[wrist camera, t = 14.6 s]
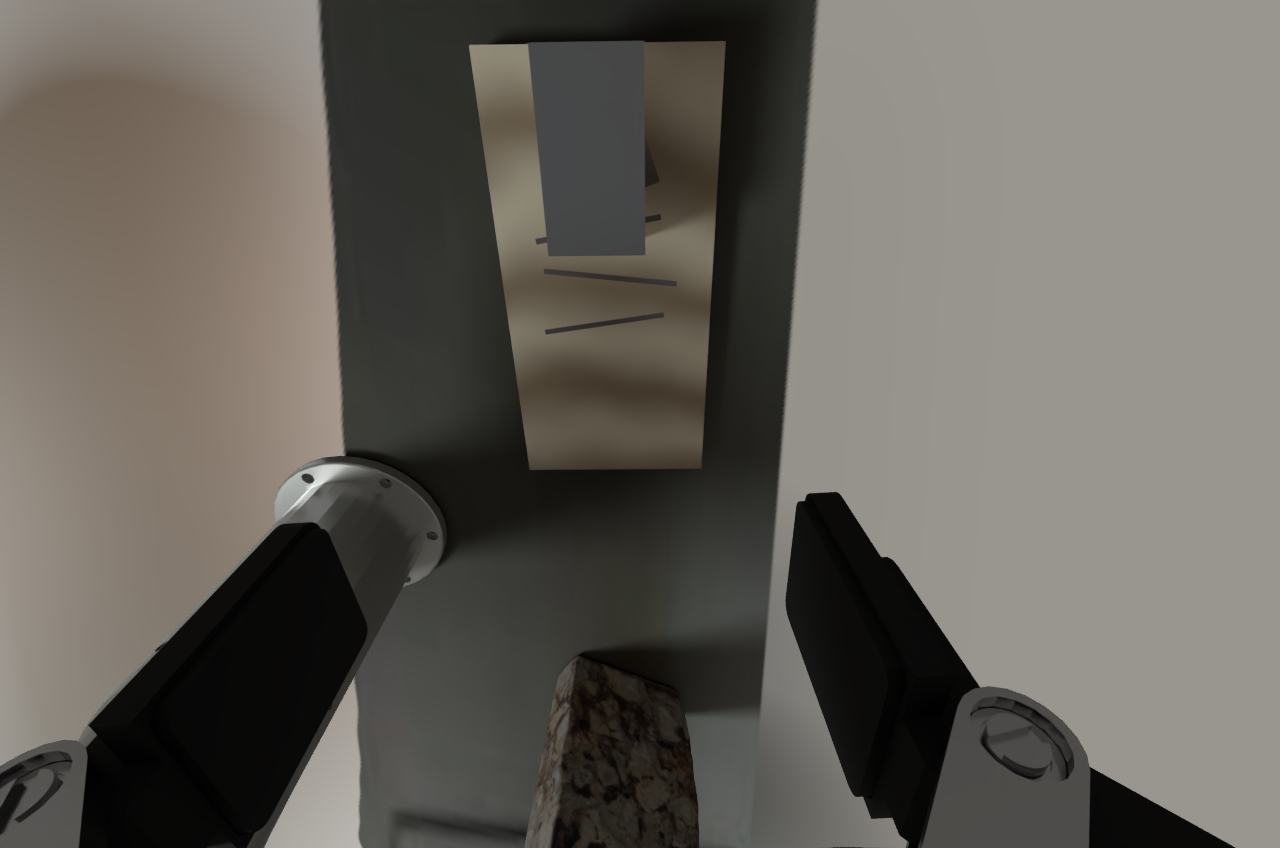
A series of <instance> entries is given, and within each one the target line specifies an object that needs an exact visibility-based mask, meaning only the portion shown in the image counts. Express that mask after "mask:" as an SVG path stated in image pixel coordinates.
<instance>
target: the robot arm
mask: <svg viewBox="0 0 1280 848" xmlns="http://www.w3.org/2000/svg"><path fill="white" fill-rule="evenodd" d="M274 516H275V522H276V523H275V525H273V527H272V528H271V529H270V530H269V531H268V532H267V533H266V534H265V535H264V536H263V537H262V538H261V539H260V540H259V541H258V542H257V543H256V544H255V545H254V546H253V547H252V549H250V551H248V553H247V554H246V555H245V556H244V557H243V558H242V559H241V560H240V561H239V562H238V563H237V564H236V565H235V566H234V567H233V568H232V569H231V570H230V571H229V572H228V573H227V574H226V575H225V576H224V578H223V579H222V580H221V581H220V582H219V583H218V584H217V585H216V586H215V587H214V588H213V589H212V590H211V591H210V592H209V593H208V594H207V595H206V596H205V597H204V598H203V599H202V600H201V601H200V602H199V603H198V605H197V606H196V607H195V608H194V609H193V610H192V611H191V612H190V613H189V614H188V615H187V616H186V617H185V618H184V619H183V620H182V621H181V622H180V623H179V624H178V625H177V626H176V627H175V628H174V629H173V631H172V632H171V633H170V634H169V635H168V636H167V637H166V638H165V639H164V640H163V641H162V642H161V643H160V644H159V645H158V646H157V647H156V648H155V649H154V650H153V651H152V652H151V653H150V654H149V655H148V656H147V658H146V659H145V660H144V661H143V662H142V663H141V664H140V665H139V666H138V667H137V668H136V669H135V670H134V671H133V672H132V673H131V674H130V675H129V676H128V677H127V678H126V679H125V680H124V681H123V683H121V685H120V686H119V687H118V688H117V689H116V690H115V691H114V692H113V693H112V694H111V695H110V696H109V697H108V699H107V700H106V701H105V702H104V703H103V704H102V705H101V706H100V707H99V709H98V710H97V711H96V713H95V714H94V715H93V717H92V718H91V719H90V721H89V723H88V724H87V726H86V727H85V729H84V730H83V732H82V734H81V736H80V738H79V741H72V740H62V741H57V742H53V743H49V744H45V745H42V746H39V747H37V748H35V749H32V750H30V751H28V752H25V753H23V754H21V755H19V756H17V757H15V758H14V759H12V760H10V761H9V762H7V763H5V764H3V765H1V766H0V848H264V847H265V845H266V843H267V840H268V838H269V836H270V834H271V832H272V830H273V828H274V826H275V824H276V822H277V820H278V818H279V816H280V815H281V813H282V811H283V809H284V807H285V805H286V803H287V801H288V799H289V797H290V795H291V793H292V791H293V790H294V788H295V786H296V784H297V782H298V780H299V778H300V776H301V774H302V773H303V771H304V769H305V767H306V765H307V763H308V761H309V760H310V758H311V756H312V754H313V752H314V750H315V749H316V747H317V745H318V743H319V741H320V739H321V737H322V736H323V734H324V732H325V730H326V728H327V726H328V724H329V723H330V721H331V719H332V717H333V715H334V713H335V711H336V710H337V708H338V706H339V704H340V702H341V700H342V699H343V696H344V695H345V693H346V691H347V689H348V687H349V685H350V684H351V682H352V680H353V678H354V676H355V674H356V673H357V671H358V669H359V667H360V665H361V663H362V661H363V660H364V658H365V656H366V654H367V652H368V650H369V648H370V647H371V645H372V643H373V641H374V639H375V637H376V635H377V634H378V632H379V630H380V628H381V626H382V624H383V622H384V621H385V619H386V617H387V615H388V613H389V611H390V609H391V608H392V606H393V604H394V602H395V600H396V598H397V596H398V595H399V593H400V591H401V589H402V587H403V586H407V585H410V584H413V583H415V582H417V581H420V580H421V579H423V578H424V577H426V576H427V575H428V574H430V573H431V572H432V570H433V569H434V568H435V567H436V566H437V564H438V562H439V560H440V558H441V557H442V555H443V552H444V549H445V546H446V543H447V529H446V524H445V520H444V517H443V515H442V513H441V511H440V509H439V507H438V506H437V504H436V503H435V501H434V500H433V498H432V497H431V496H430V495H429V494H428V493H427V492H426V491H425V490H424V489H423V488H422V487H421V486H420V485H419V484H418V483H416V482H415V481H414V480H412V479H411V478H410V477H408V476H407V475H405V474H403V473H401V472H400V471H398V470H396V469H394V468H392V467H390V466H387V465H384V464H382V463H379V462H376V461H373V460H368V459H364V458H359V457H347V456H336V457H326V458H321V459H318V460H315V461H311V462H309V463H307V464H305V465H303V466H302V467H300V468H298V469H297V470H296V471H295V472H294V473H293V474H291V475H290V476H289V477H288V478H287V479H286V480H285V481H284V483H283V484H282V485H281V487H280V488H279V490H278V492H277V494H276V497H275V501H274ZM786 610H787V615H788V618H789V621H790V624H791V627H792V630H793V632H794V635H795V638H796V641H797V643H798V646H799V649H800V652H801V654H802V657H803V660H804V663H805V665H806V669H807V671H808V674H809V677H810V680H811V683H812V685H813V688H814V691H815V694H816V696H817V699H818V702H819V705H820V708H821V710H822V713H823V716H824V718H825V721H826V724H827V727H828V730H829V732H830V735H831V738H832V741H833V744H834V746H835V749H836V752H837V755H838V757H839V760H840V763H841V766H842V769H843V772H844V774H845V777H846V780H847V783H848V785H849V788H850V789H851V792H852V793H853V795H854V796H855V797H862V796H863V797H864V800H865V802H866V806H867V808H868V811H869V814H870V816H871V819H876V818H893V820H894V823H895V825H896V828H897V830H898V833H899V835H900V836H901V837H903V838H904V839H905V840H907V845H906V848H1235V847H1233V846H1232V845H1230V844H1228V843H1226V842H1224V841H1222V840H1221V839H1219V838H1217V837H1215V836H1213V835H1212V834H1210V833H1208V832H1206V831H1204V830H1203V829H1201V828H1199V827H1197V826H1195V825H1194V824H1192V823H1190V822H1188V821H1186V820H1185V819H1183V818H1181V817H1179V816H1177V815H1176V814H1174V813H1172V812H1170V811H1168V810H1167V809H1165V808H1163V807H1161V806H1159V805H1158V804H1155V803H1154V802H1152V801H1150V800H1148V799H1147V798H1145V797H1143V796H1141V795H1140V794H1138V793H1136V792H1134V791H1132V790H1130V789H1129V788H1127V787H1125V786H1123V785H1121V784H1120V783H1118V782H1116V781H1114V780H1112V779H1111V778H1109V777H1107V776H1105V775H1103V774H1101V773H1100V772H1098V771H1096V770H1094V769H1093V768H1091V767H1089V763H1088V758H1087V754H1086V753H1085V751H1084V749H1083V747H1082V745H1081V743H1080V742H1079V740H1078V738H1077V737H1076V736H1075V734H1074V733H1073V732H1072V731H1071V730H1070V729H1069V728H1068V726H1067V725H1066V724H1065V723H1064V722H1063V721H1062V720H1061V719H1060V718H1058V717H1057V716H1056V715H1055V714H1054V713H1052V712H1051V711H1050V710H1049V709H1047V708H1046V707H1044V706H1043V705H1041V704H1040V703H1038V702H1036V701H1034V700H1032V699H1031V698H1029V697H1027V696H1025V695H1022V694H1020V693H1017V692H1014V691H1011V690H1008V689H1004V688H997V687H990V686H989V687H982V688H980V687H979V685H978V684H977V682H976V681H975V680H974V678H973V676H972V675H971V673H970V672H969V670H968V669H967V668H966V666H965V664H964V663H963V661H962V660H961V659H960V657H959V656H958V654H957V653H956V651H955V650H954V648H953V647H952V645H951V644H950V642H949V641H948V639H947V638H946V636H945V635H944V634H943V632H942V631H941V629H940V628H939V626H938V625H937V623H936V622H935V620H934V619H933V617H932V616H931V614H930V613H929V611H928V610H927V609H926V607H925V605H924V604H923V603H922V601H921V600H920V598H919V597H918V595H917V594H916V592H915V591H914V589H913V588H912V586H911V585H910V583H909V582H908V580H907V579H906V577H905V576H904V574H903V573H902V571H901V570H900V568H899V567H898V566H897V565H896V563H895V562H894V561H893V560H892V559H890V558H888V557H881V556H880V555H879V553H878V552H877V550H876V549H875V547H874V546H873V544H872V543H871V541H870V539H869V538H868V536H867V535H866V533H865V532H864V530H863V529H862V527H861V526H860V524H859V523H858V521H857V519H856V518H855V516H854V515H853V513H852V512H851V510H850V509H849V507H848V506H847V504H846V502H845V501H844V499H843V498H842V496H841V495H840V494H839V493H837V492H828V493H812V494H811V493H810V494H808V495H807V496H806V499H805V501H800V502H798V503H797V506H796V514H795V523H794V531H793V540H792V548H791V557H790V566H789V574H788V583H787V592H786ZM833 848H861V847H833Z"/></svg>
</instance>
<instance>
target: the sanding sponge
mask: <svg viewBox="0 0 1280 848" xmlns="http://www.w3.org/2000/svg"><path fill="white" fill-rule="evenodd" d="M528 50H529V61H530V71H531V81H532V92H533V102H534V112H535V123H536V133H537V143H538V154H539V164H540V174H541V185H542V195H543V205H544V216H545V226H546V236H547V247H548V256H630V255H645V117H644V41H590V42H528Z"/></svg>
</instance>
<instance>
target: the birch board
mask: <svg viewBox="0 0 1280 848" xmlns="http://www.w3.org/2000/svg"><path fill="white" fill-rule="evenodd" d="M725 44H726V41H699V42H644V117H645V255H630V256H548V247H547V236H546V226H545V216H544V205H543V195H542V185H541V174H540V164H539V154H538V143H537V133H536V123H535V112H534V102H533V92H532V81H531V71H530V61H529V50H528V44H507V45H469V49H470V56H471V63H472V70H473V77H474V84H475V91H476V98H477V105H478V112H479V119H480V126H481V133H482V140H483V147H484V154H485V161H486V168H487V175H488V182H489V189H490V196H491V203H492V210H493V217H494V224H495V231H496V238H497V245H498V252H499V259H500V266H501V273H502V280H503V287H504V294H505V301H506V308H507V315H508V322H509V329H510V336H511V343H512V350H513V357H514V364H515V371H516V378H517V385H518V392H519V399H520V405H521V412H522V419H523V426H524V433H525V440H526V447H527V454H528V461H529V468H530V470H586V469H701V466H702V448H703V431H704V413H705V396H706V378H707V360H708V343H709V325H710V308H711V290H712V273H713V255H714V238H715V220H716V202H717V185H718V167H719V150H720V132H721V115H722V97H723V80H724V62H725Z"/></svg>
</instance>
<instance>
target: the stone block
mask: <svg viewBox="0 0 1280 848" xmlns="http://www.w3.org/2000/svg"><path fill="white" fill-rule="evenodd" d="M524 848H699V825H698V802H697V794H696V786H695V781H694V774H693V760H692V755H691V747H690V737H689V733H688V728H687V722H686V718H685V714H684V713H683V711H682V709H681V706H680V700H679V695H678V694H677V691H675V690H673V689H671V688H669V687H667V686H664V685H661V684H658V683H654V682H651V681H649V680H646V679H643V678H641V677H638V676H635V675H632V674H629V673H627V672H624V671H621V670H617V669H615V668H613V667H611V666H608V665H605V664H601V663H597V662H594V661H592V660H589V659H586V658H583V657H581V656H577V657H576V658H575V659H573V660H572V661H571V662H570V663H569V664H568V665H567V666H566V667H565V669H564V670H563V671H562V673H560V674H559V677H558V682H557V685H556V688H555V693H554V697H553V702H552V710H551V713H550V717H549V722H548V727H547V732H546V737H545V742H544V747H543V752H542V758H541V762H540V769H539V774H538V779H537V785H536V790H535V795H534V800H533V806H532V810H531V815H530V820H529V825H528V830H527V836H526V842H525V847H524Z"/></svg>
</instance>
